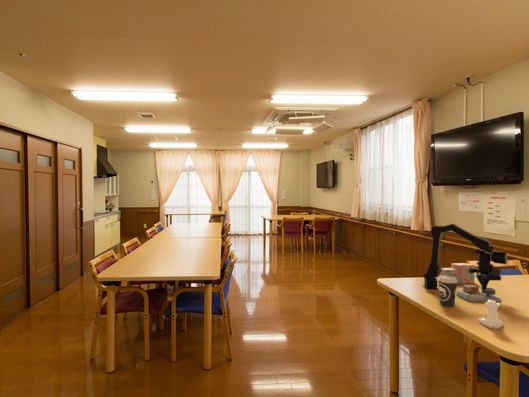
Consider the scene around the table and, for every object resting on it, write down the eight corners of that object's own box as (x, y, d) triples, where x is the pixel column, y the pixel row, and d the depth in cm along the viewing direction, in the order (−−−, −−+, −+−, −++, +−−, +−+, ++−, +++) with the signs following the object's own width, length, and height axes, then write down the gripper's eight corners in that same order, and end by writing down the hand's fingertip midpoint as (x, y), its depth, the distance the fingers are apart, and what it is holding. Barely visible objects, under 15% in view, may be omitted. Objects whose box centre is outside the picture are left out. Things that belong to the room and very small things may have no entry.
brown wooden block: (468, 296, 179) (468, 287, 179) (463, 294, 184) (463, 284, 184) (478, 296, 179) (479, 287, 179) (473, 294, 184) (473, 284, 184)
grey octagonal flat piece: (486, 294, 179) (486, 290, 179) (479, 291, 185) (479, 287, 185) (497, 294, 179) (497, 290, 179) (489, 291, 185) (489, 287, 185)
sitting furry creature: (502, 324, 145) (502, 298, 145) (508, 332, 137) (508, 304, 137) (477, 321, 148) (478, 295, 148) (482, 328, 140) (482, 301, 140)
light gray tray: (468, 301, 176) (468, 292, 176) (456, 295, 187) (456, 286, 187) (500, 301, 176) (500, 292, 176) (486, 295, 187) (486, 286, 187)
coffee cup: (457, 309, 164) (457, 280, 164) (436, 305, 169) (436, 277, 169) (457, 304, 172) (458, 276, 172) (437, 300, 177) (437, 273, 177)
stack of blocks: (445, 284, 212) (445, 265, 211) (438, 281, 218) (438, 263, 218) (474, 283, 214) (474, 264, 214) (467, 280, 220) (467, 262, 220)
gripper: (511, 265, 172) (511, 294, 172) (486, 258, 191) (486, 284, 191) (490, 265, 172) (490, 294, 172) (468, 258, 191) (468, 284, 191)
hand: (484, 288), depth 182 cm, fingers closed, pressing on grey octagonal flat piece
